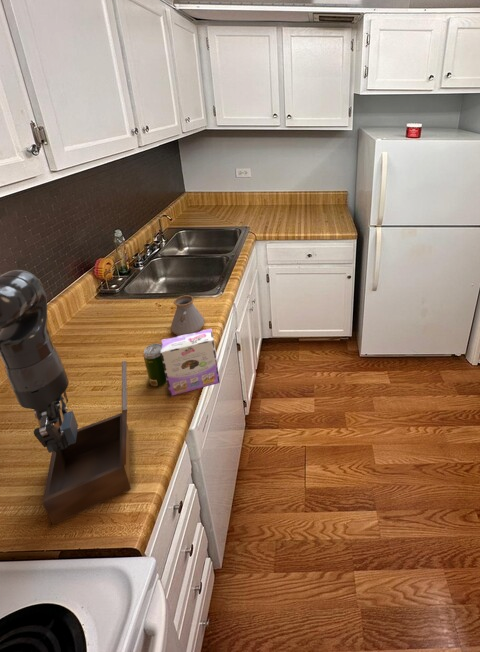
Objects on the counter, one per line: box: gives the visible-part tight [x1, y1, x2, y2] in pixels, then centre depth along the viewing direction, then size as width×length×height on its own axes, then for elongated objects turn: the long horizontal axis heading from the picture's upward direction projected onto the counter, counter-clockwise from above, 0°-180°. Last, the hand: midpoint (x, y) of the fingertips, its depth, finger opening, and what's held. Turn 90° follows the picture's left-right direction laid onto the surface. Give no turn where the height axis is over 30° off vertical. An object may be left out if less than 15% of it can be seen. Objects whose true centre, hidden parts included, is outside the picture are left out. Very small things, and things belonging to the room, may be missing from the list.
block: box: [46, 410, 79, 454], centre depth 67 cm, size 4×4×4 cm
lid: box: [121, 360, 128, 466], centre depth 72 cm, size 14×15×1 cm
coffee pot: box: [170, 294, 205, 336], centre depth 113 cm, size 21×12×15 cm, turn 19°
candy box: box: [160, 328, 221, 397], centre depth 95 cm, size 14×6×16 cm, turn 111°
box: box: [41, 412, 132, 526], centre depth 73 cm, size 14×15×8 cm
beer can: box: [143, 343, 167, 388], centre depth 96 cm, size 5×5×12 cm
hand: (63, 437), depth 68 cm, fingers closed on block, 4 cm apart
